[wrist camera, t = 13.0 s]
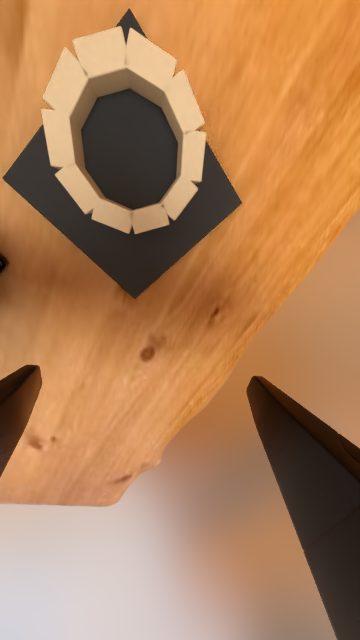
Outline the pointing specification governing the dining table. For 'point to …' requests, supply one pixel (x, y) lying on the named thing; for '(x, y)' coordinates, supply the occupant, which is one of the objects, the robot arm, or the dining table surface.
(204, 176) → the rubber mat
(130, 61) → the beige segmented ring
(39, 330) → the dining table surface
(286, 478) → the robot arm
